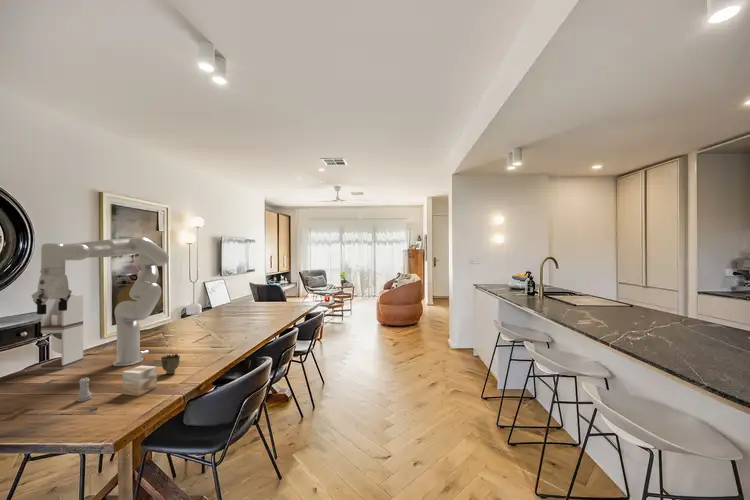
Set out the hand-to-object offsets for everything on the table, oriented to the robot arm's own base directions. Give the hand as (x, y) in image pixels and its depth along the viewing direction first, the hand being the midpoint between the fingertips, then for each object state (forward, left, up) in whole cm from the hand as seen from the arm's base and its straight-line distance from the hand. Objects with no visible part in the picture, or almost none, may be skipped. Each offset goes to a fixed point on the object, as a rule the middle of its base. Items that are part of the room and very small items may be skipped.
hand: (52, 312), depth 143 cm
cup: (-24, +37, -31) cm, 54 cm away
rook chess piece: (+7, +29, -31) cm, 43 cm away
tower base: (-5, +42, -31) cm, 53 cm away
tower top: (-5, +42, -27) cm, 50 cm away
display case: (-19, -26, -31) cm, 45 cm away
